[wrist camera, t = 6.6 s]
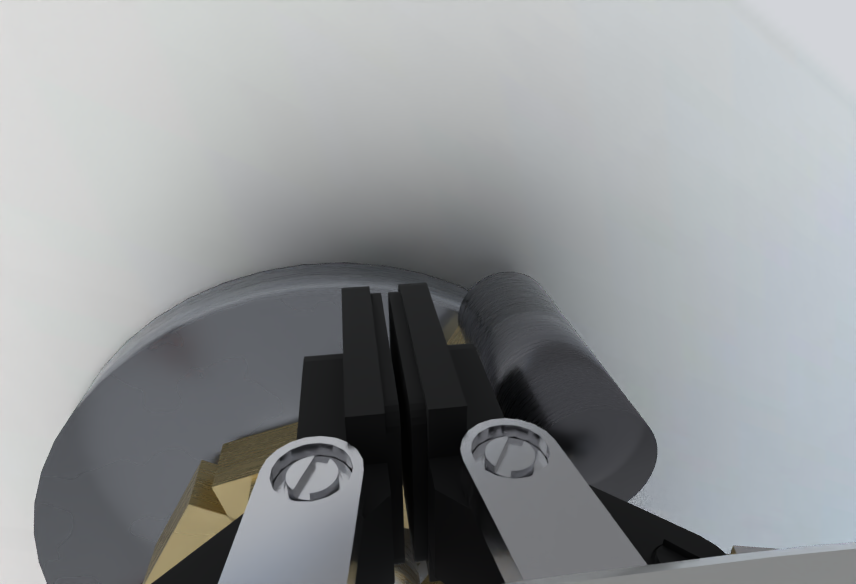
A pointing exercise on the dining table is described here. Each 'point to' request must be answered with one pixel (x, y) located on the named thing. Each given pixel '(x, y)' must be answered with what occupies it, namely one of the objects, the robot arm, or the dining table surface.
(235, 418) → the dark oval platter
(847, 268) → the dining table surface
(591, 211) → the dining table surface
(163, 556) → the gold segmented ring
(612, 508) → the robot arm
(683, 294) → the dining table surface
